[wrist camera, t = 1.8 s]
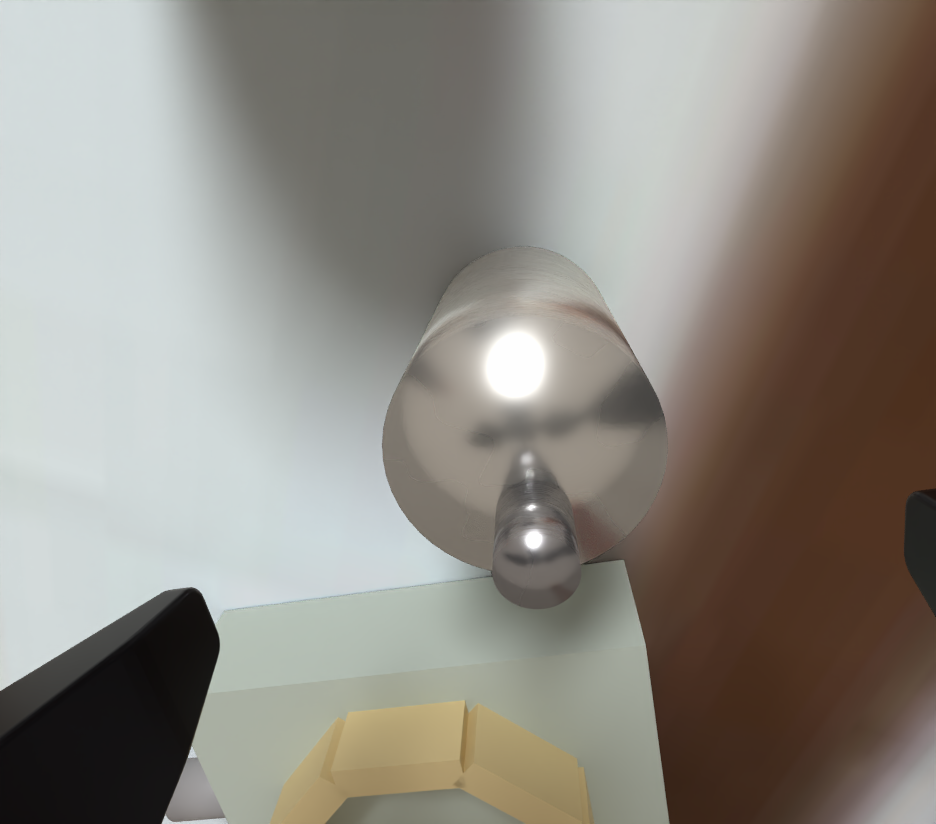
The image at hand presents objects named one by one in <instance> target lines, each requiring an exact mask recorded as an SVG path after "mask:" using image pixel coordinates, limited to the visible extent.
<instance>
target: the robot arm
mask: <svg viewBox="0 0 936 824" xmlns="http://www.w3.org/2000/svg"><path fill="white" fill-rule="evenodd" d="M904 556H905V561H906V565H907V568H908V570H909V572H910V574H911V576H912V578H913V579H914V581H915V583H916V584H917V586H918V588H919V589H920V591H921V593H922V595H923V596H924V598H925V600H926V601H927V603H928V605H929V606H930V608H931V610H932V612H933V613H934V615H935V617H936V489H929V490H921V491H915V492H913V493H912V494H911V495H910V496H908V499H907V502H906V510H905V537H904ZM219 652H220V638H219V634H218V631H217V629H216V626H215V624H214V622H213V619H212V617H211V614H210V612H209V610H208V607H207V605H206V602H205V600H204V598H203V596H202V594H201V592H200V591H199V590H197V589H195V588H193V587H189V588H181V589H173V590H168V591H165V592H163V593H161V594H159V595H157V596H156V597H154V598H153V599H151V600H149V601H148V602H146V603H144V604H143V605H141V606H139V607H138V608H136V609H134V610H133V611H131V612H130V613H128V614H126V615H125V616H123V617H121V618H120V619H118V620H116V621H115V622H113V623H111V624H110V625H108V626H107V627H105V628H103V629H102V630H100V631H98V632H97V633H95V634H93V635H92V636H90V637H88V638H87V639H85V640H84V641H82V642H80V643H79V644H77V645H75V646H74V647H72V648H70V649H69V650H67V651H65V652H64V653H62V654H61V655H59V656H57V657H56V658H54V659H52V660H51V661H49V662H47V663H46V664H44V665H42V666H41V667H39V668H37V669H36V670H34V671H33V672H31V673H29V674H28V675H26V676H24V677H23V678H21V679H19V680H18V681H16V682H14V683H13V684H11V685H10V686H8V687H6V688H5V689H3V690H1V691H0V824H162V821H163V819H164V816H165V814H166V811H167V809H168V806H169V804H170V801H171V799H172V797H173V794H174V792H175V789H176V787H177V784H178V782H179V779H180V777H181V774H182V772H183V769H184V766H185V764H186V761H187V758H188V755H189V752H190V749H191V746H192V743H193V740H194V736H195V733H196V730H197V726H198V723H199V720H200V716H201V713H202V710H203V706H204V703H205V700H206V696H207V693H208V690H209V686H210V683H211V680H212V676H213V673H214V670H215V666H216V663H217V660H218V656H219Z"/></svg>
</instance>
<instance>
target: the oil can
mask: <svg viewBox="0 0 936 824" xmlns="http://www.w3.org/2000/svg"><path fill="white" fill-rule="evenodd" d="M382 449H383V462H384V467H385V472H386V477H387V479H388V482H389V485H390V488H391V491H392V493H393V495H394V497H395V499H396V501H397V503H398V505H399V507H400V508H401V510H402V511H403V513H404V514H405V515H406V517H407V518H408V520H409V521H410V522H411V523H412V524H413V525H414V527H415V528H416V529H417V530H418V531H419V532H420V533H421V534H422V535H423V536H424V537H426V538H427V539H428V540H429V541H430V542H431V543H432V544H434V545H435V546H437V547H438V548H440V549H441V550H443V551H444V552H446V553H447V554H449V555H451V556H453V557H455V558H457V559H459V560H461V561H463V562H466V563H468V564H471V565H473V566H476V567H479V568H483V569H487V570H491V571H492V576H493V581H494V584H495V586H496V588H497V589H498V591H499V592H500V593H501V594H502V596H504V597H505V598H506V599H507V600H509V601H510V602H512V603H513V604H515V605H518V606H520V607H524V608H529V609H546V608H551V607H554V606H557V605H559V604H561V603H563V602H564V601H566V600H567V599H569V598H570V597H571V596H572V595H573V593H574V592H575V591H576V589H577V588H578V586H579V583H580V580H581V564H582V563H585V562H587V561H589V560H592V559H594V558H596V557H598V556H599V555H601V554H603V553H604V552H606V551H608V550H610V549H611V548H612V547H614V546H615V545H616V544H618V543H619V542H620V541H622V540H623V539H624V538H625V537H626V536H627V535H628V534H629V533H630V532H631V531H632V530H633V529H634V528H635V527H636V526H637V525H638V524H639V522H640V521H641V520H642V519H643V517H644V516H645V515H646V513H647V512H648V510H649V508H650V507H651V505H652V503H653V502H654V500H655V498H656V496H657V493H658V491H659V489H660V486H661V484H662V480H663V476H664V473H665V469H666V462H667V454H668V438H667V429H666V423H665V417H664V414H663V411H662V408H661V405H660V402H659V399H658V397H657V395H656V393H655V391H654V389H653V387H652V386H651V384H650V382H649V380H648V378H647V376H646V375H645V373H644V371H643V369H642V367H641V366H640V364H639V362H638V360H637V358H636V357H635V355H634V353H633V351H632V349H631V348H630V346H629V344H628V342H627V340H626V339H625V337H624V335H623V333H622V331H621V330H620V328H619V326H618V324H617V322H616V321H615V319H614V317H613V315H612V313H611V312H610V310H609V308H608V306H607V304H606V303H605V301H604V299H603V297H602V295H601V294H600V292H599V290H598V288H597V287H596V285H595V284H594V282H593V281H592V280H591V278H590V277H589V276H588V275H587V274H586V273H585V272H584V271H583V270H582V269H581V268H580V267H579V266H577V265H576V264H575V263H574V262H572V261H570V260H569V259H567V258H566V257H564V256H562V255H559V254H557V253H555V252H553V251H549V250H545V249H542V248H536V247H509V248H504V249H500V250H496V251H493V252H490V253H488V254H485V255H483V256H481V257H480V258H478V259H476V260H474V261H473V262H471V263H470V264H469V265H467V266H466V267H465V268H463V269H462V270H461V271H460V272H459V273H458V274H457V275H456V276H455V278H454V279H453V280H452V282H451V283H450V284H449V286H448V287H447V289H446V291H445V292H444V294H443V296H442V298H441V300H440V302H439V304H438V306H437V308H436V310H435V312H434V314H433V316H432V318H431V320H430V322H429V324H428V326H427V328H426V330H425V332H424V334H423V336H422V338H421V340H420V342H419V344H418V346H417V348H416V350H415V352H414V354H413V356H412V358H411V360H410V362H409V364H408V366H407V368H406V371H405V373H404V375H403V377H402V379H401V381H400V383H399V385H398V387H397V389H396V391H395V393H394V395H393V397H392V400H391V402H390V405H389V408H388V410H387V414H386V419H385V423H384V428H383V440H382Z"/></svg>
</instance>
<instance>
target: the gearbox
mask: <svg viewBox="0 0 936 824" xmlns="http://www.w3.org/2000/svg"><path fill="white" fill-rule="evenodd" d="M215 626H216V629H217V631H218V634H219V638H220V652H219V656H218V660H217V663H216V666H215V670H214V673H213V676H212V680H211V683H210V686H209V690H208V693H207V696H206V700H205V703H204V706H203V710H202V713H201V716H200V720H199V723H198V726H197V730H196V733H195V736H194V740H193V743H192V747H193V749H194V751H195V753H196V755H197V757H196V758H187V761H186V764H185V766H184V769H183V772H182V774H181V777H180V779H179V782H178V784H177V787H176V789H175V792H174V794H173V797H172V799H171V801H170V804H169V806H168V809H167V811H166V816H167V817H168V819H169V820H171V821H173V822H180V821H192V820H204V819H216V818H226V819H227V821H228V824H669V818H668V810H667V803H666V795H665V787H664V780H663V772H662V765H661V757H660V750H659V742H658V735H657V727H656V720H655V712H654V705H653V697H652V690H651V682H650V674H649V667H648V659H647V652H646V645H645V641H644V637H643V633H642V629H641V625H640V621H639V617H638V614H637V610H636V606H635V602H634V598H633V594H632V590H631V586H630V582H629V578H628V575H627V571H626V567H625V563H624V560H617V561H609V562H601V563H593V564H585V565H581V580H580V583H579V586H578V588H577V589H576V591H575V592H574V593H573V595H572V596H571V597H570V598H569V599H567V600H566V601H564V602H563V603H561V604H559V605H557V606H554V607H551V608H546V609H529V608H524V607H520V606H518V605H515V604H513V603H512V602H510V601H509V600H507V599H506V598H505V597H504V596H502V594H501V593H500V592H499V591H498V589H497V588H496V586H495V584H494V581H493V576H492V577H484V578H477V579H469V580H461V581H453V582H445V583H438V584H430V585H422V586H414V587H407V588H399V589H391V590H383V591H375V592H368V593H360V594H352V595H344V596H336V597H329V598H321V599H313V600H305V601H298V602H290V603H282V604H274V605H266V606H259V607H251V608H243V609H235V610H228V611H224V612H223V614H222V615H221V617H220V619H219V620H218V622H217V623H216V625H215Z"/></svg>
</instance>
